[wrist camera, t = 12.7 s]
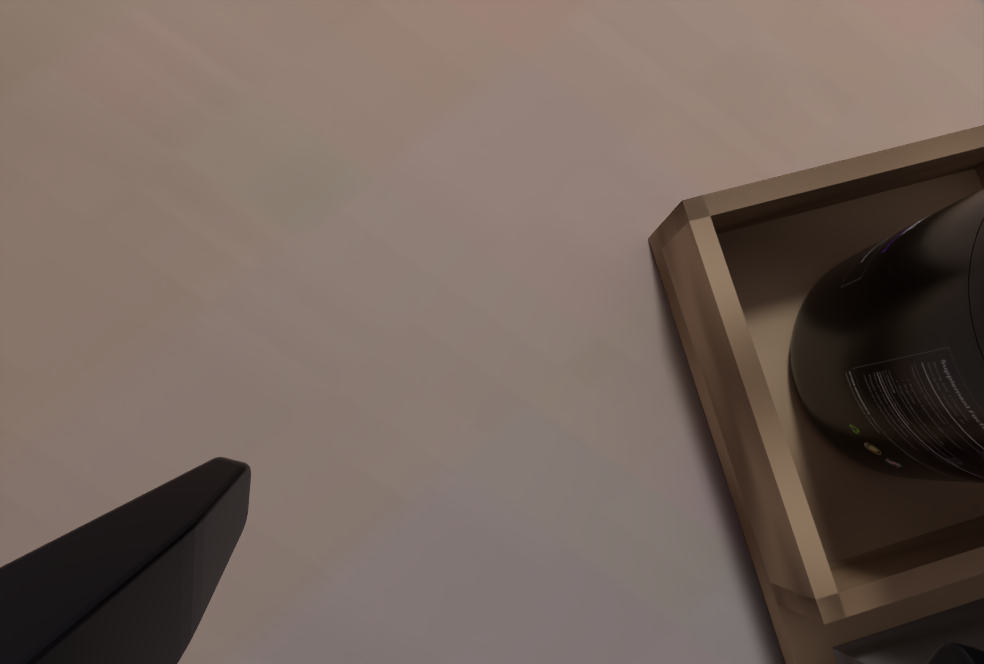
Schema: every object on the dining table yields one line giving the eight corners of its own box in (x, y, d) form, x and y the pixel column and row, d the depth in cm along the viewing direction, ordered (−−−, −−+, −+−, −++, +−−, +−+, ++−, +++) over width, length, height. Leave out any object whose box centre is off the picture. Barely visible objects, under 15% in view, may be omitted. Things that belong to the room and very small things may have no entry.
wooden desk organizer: (1225, 795, 20) (1401, 870, 17) (871, 927, 19) (974, 1041, 15) (966, 157, 23) (1064, 100, 20) (648, 238, 22) (688, 193, 18)
